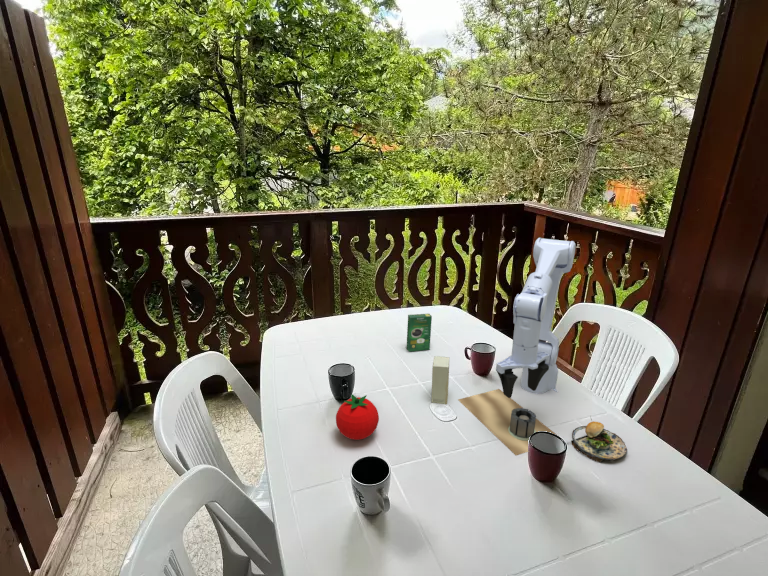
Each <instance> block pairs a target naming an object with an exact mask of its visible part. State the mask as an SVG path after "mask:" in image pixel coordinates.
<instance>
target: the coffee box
mask: <svg viewBox="0 0 768 576" xmlns="http://www.w3.org/2000/svg"><path fill="white" fill-rule="evenodd" d="M432 317H433V316H432V315H431V314H430V313H420V314H418V313H416V314H407V328H406V330H407V332H406V350H407V352H408V353H409V352H411V353H412V352H420V351H428V350H429V351H430V348H431V336H432V335H431V331H432Z"/></svg>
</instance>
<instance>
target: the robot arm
mask: <svg viewBox="0 0 768 576" xmlns="http://www.w3.org/2000/svg"><path fill="white" fill-rule="evenodd" d="M576 248H577V247H576V243H575V241H574V240H571V241H570V240H559V239H551V238H543V237H538V238H537V239H536V240H535V242H534V245H533V251H532V252H533V253H532V256H533V261H534V264H535V267H536V268H535V271H534V272H531V273H530V274H529V275H528V277H527V279H526V281H525V283H524V286H523V288H522V291H521V292H520V294H519V293H517V294H516V296H515V297H514V301H513V308H512V310H513V312H512V313H513V314H512V315H513V319H512V320H513V324H514V330H513V337H512V348H511V355H510V356H508V357H506V358H505V359H503V360H502V361H499V362H496V365H495V371H496V373H497V375H498V377H499V380H500V383H501V386H502V392H503V393H504V395H505V396H507V397H508V398H511V399H512V396H513V392H514V386H515V383H516V382H517V379H518V378H519V377H518V375H516V374H515V373H514V371H513V370H516V369H522V371H521V379H520V387H521V389H523V390H524V391H525V392H528V393H530V394H535V395H540V394H544V393H546V392H548V391H551V390H553V391H554V392H555V393H558V390H557V389H556V386H557V381H558V380H557V379H558V374H559V371H558V370H559V369H558V365H557V364H556V362H557V361H558V360H557V359H558V355H559V345H560V341H559V338H558V336H557V335H555V333H554V332H553V331H552V325H553V318H554V314H555V309H556V304H557V298H558V294H559V293H558V292H559V287H560V283H561V279H562V278H563V275H564V274H566V273H569V272H571V269H572V268H573V263H574V258H575V254H576Z"/></svg>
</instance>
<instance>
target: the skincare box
mask: <svg viewBox="0 0 768 576" xmlns="http://www.w3.org/2000/svg"><path fill="white" fill-rule="evenodd" d="M432 361H433V362H432V371H431V372H432V373H431V374H432V375H431V403H433V404H441V405H447V404H448V399H449V382H450V381H449V379H450V378H449V377H450V374H449V373H450V357H448V356H439V355H434V356H433V360H432Z"/></svg>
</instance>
